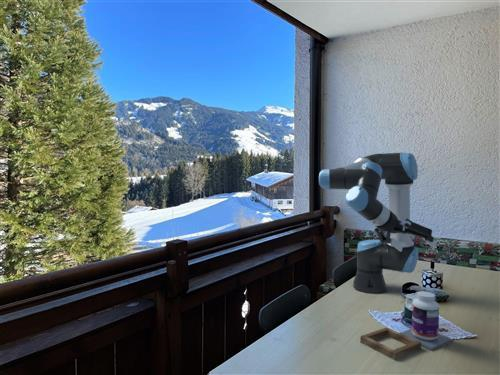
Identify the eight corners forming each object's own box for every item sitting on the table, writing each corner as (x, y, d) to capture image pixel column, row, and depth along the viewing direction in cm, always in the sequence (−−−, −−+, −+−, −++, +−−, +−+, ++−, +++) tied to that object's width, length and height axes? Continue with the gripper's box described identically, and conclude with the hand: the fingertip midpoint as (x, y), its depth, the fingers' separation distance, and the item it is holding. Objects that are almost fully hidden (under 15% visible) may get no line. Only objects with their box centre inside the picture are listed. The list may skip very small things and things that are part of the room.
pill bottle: (407, 331, 123) (407, 290, 122) (429, 330, 124) (430, 289, 123) (420, 342, 115) (421, 298, 114) (443, 341, 116) (444, 297, 115)
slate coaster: (397, 335, 121) (397, 333, 121) (419, 327, 128) (419, 325, 128) (431, 350, 111) (431, 348, 111) (452, 341, 117) (452, 339, 117)
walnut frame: (360, 342, 117) (360, 336, 117) (386, 332, 124) (386, 327, 123) (394, 360, 106) (394, 353, 106) (421, 348, 112) (421, 342, 112)
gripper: (351, 231, 132) (387, 258, 140) (412, 221, 112) (450, 253, 120) (356, 214, 136) (390, 241, 143) (415, 201, 116) (452, 233, 123)
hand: (417, 246), depth 132 cm, fingers open, 13 cm apart
